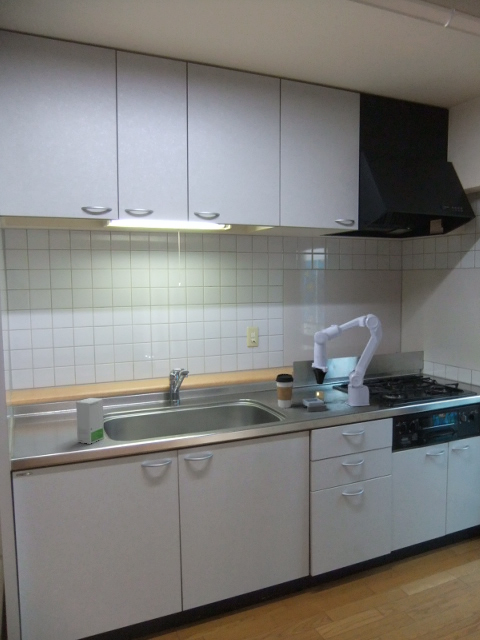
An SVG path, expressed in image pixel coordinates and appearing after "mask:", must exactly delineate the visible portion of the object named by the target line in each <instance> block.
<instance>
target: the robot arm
mask: <svg viewBox="0 0 480 640" xmlns="http://www.w3.org/2000/svg"><path fill="white" fill-rule="evenodd" d="M365 326H366V327H367V328H368V330H369V332H370V337H369V340H368V342H367V343H366V346H365V348H364V350H363V352H362V353H361V356H360V358H359V360H358V362H357V363H356V365H355V366H354V367H353V370H351V371H350V372H349V374H348V381H349V383H348V384H347V400H346V401H344V402H343V403H345V404H346V405H348V406H350V407H364V406H370V391H369V387H368V386H367V385H365V384H364V377H365V375H366V371H367V370H368V367H369V365H370V363H371V361H372V359H373V357H374V355H375V352H376V351H377V349H378V347H379V345H380V343H381V341H382V338H383V329H382V322H381V321H380V319H379V317H378V316H377V315H375V314H373V313H368V314H366V315H362V316H360V317H359V316H358V317H356V318H354V319H352V320H350V321H348V322H345V323H343V324H341V325H338V324H331V325H330V327H326V328H322V329H321V330H320V331H319V330H318V331H316V332H315V334H314V335H313V339H314V347H313V362H312V363H311V364H312V365H311V368H313V369H312V372H313V374H314V376H315V381H316V384H317V385H323V384H324V380H325V379H326V378H325V377H326V375H327V374H328V372H329V367H328V366H327V347H326V342H327V341H331V340H334V339H336V338H339V337H341V336H342V334H343V333H344V332H345V331H348V330H351V329H355V328H356V327H362V328H365Z"/></svg>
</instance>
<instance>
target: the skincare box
mask: <svg viewBox="0 0 480 640" xmlns="http://www.w3.org/2000/svg"><path fill="white" fill-rule="evenodd" d="M75 405H76V431H77V432H76V433H77V443H79V442H81V443H80V444H84V443H87V444H86V445H92V444H94V443H97V442H99V441H101V440H103V438H104V439H105V432H104V427H105V426H104V400H103V398H99V397H98V398H96V397H89V398H86V399H85V398H84V399H82V400H78V401H76V402H75ZM98 440H99V441H98ZM96 441H97V442H96ZM91 443H92V444H91Z"/></svg>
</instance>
